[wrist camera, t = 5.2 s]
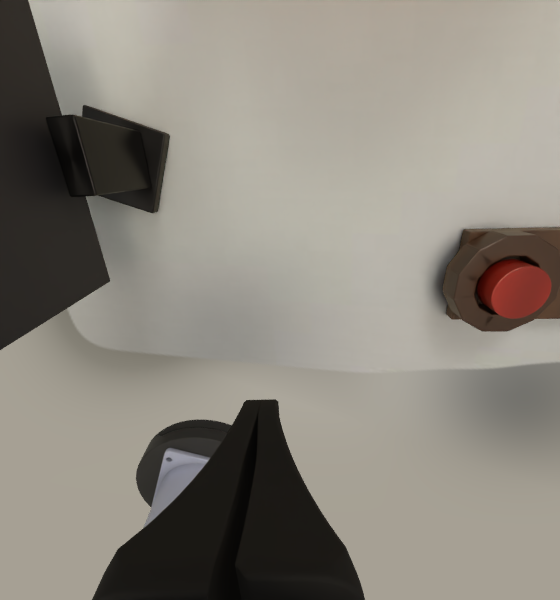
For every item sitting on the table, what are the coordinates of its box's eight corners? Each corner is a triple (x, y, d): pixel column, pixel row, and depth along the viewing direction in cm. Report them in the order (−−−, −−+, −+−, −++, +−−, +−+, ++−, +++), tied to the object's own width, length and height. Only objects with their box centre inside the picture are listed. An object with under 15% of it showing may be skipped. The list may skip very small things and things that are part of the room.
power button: (471, 308, 20) (485, 319, 18) (483, 259, 18) (499, 266, 17) (523, 307, 19) (542, 318, 18) (539, 258, 18) (560, 265, 17)
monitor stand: (85, 188, 19) (-9, 197, 13) (90, 106, 18) (-15, 74, 12) (158, 212, 20) (99, 231, 14) (170, 134, 18) (110, 117, 12)
